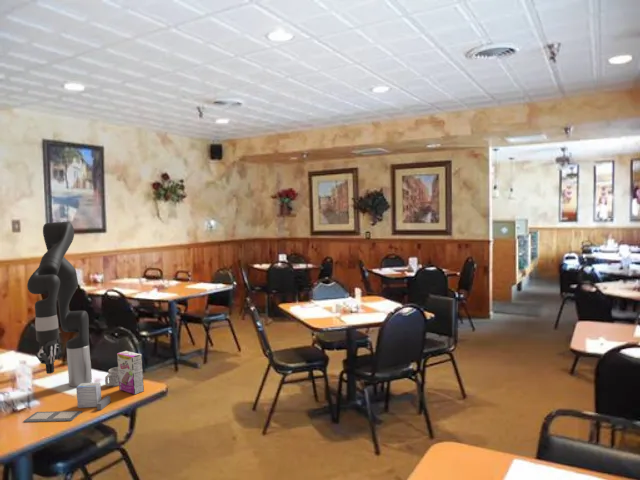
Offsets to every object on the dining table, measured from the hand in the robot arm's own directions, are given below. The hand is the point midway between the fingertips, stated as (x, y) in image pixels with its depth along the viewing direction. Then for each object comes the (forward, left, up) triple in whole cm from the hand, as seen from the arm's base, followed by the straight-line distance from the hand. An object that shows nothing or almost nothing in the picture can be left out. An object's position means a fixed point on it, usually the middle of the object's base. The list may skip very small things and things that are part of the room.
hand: (50, 372), depth 187 cm
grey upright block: (-11, +9, -17) cm, 22 cm away
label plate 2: (0, +4, -17) cm, 18 cm away
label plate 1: (0, -5, -17) cm, 18 cm away
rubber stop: (-10, +15, -17) cm, 25 cm away
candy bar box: (-26, +19, -17) cm, 37 cm away
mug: (-34, +8, -17) cm, 39 cm away
